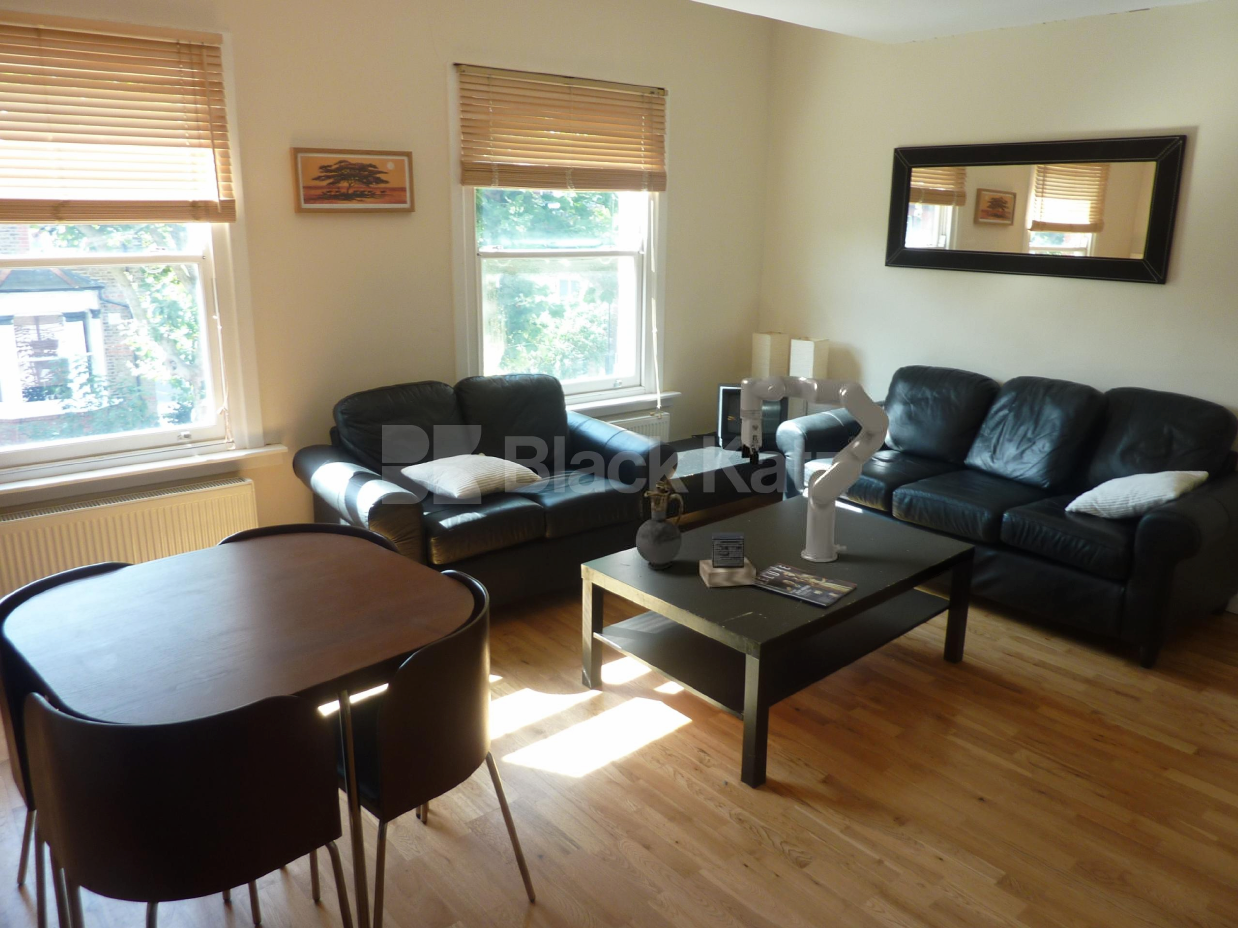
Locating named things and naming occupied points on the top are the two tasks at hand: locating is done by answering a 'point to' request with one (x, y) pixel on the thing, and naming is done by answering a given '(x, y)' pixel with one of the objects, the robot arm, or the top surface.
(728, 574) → the birch riser
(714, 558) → the small box
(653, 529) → the pitcher
